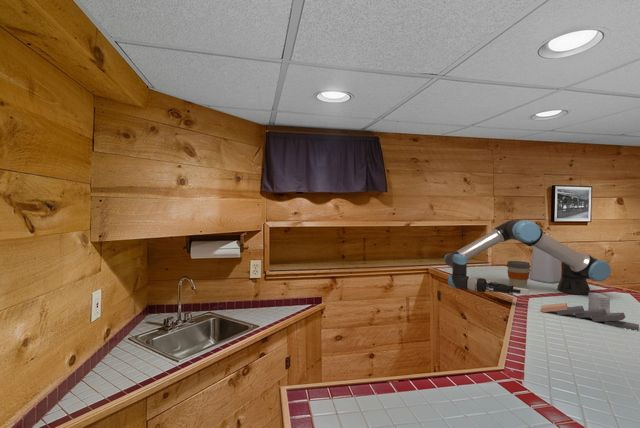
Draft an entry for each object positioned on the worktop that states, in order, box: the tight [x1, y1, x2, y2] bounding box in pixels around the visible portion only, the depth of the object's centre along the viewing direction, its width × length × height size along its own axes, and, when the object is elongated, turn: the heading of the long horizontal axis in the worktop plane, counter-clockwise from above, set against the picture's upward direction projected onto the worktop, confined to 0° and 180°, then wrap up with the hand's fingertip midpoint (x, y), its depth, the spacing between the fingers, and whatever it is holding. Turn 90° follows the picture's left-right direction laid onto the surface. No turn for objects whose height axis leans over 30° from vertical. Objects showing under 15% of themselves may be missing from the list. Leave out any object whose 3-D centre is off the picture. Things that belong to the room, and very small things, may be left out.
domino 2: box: [575, 309, 607, 319], centre depth 138 cm, size 2×5×10 cm
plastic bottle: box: [529, 246, 561, 284], centre depth 209 cm, size 15×15×28 cm
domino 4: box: [604, 320, 640, 332], centre depth 130 cm, size 2×5×10 cm
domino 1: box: [555, 305, 585, 316], centre depth 142 cm, size 2×5×10 cm
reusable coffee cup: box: [506, 260, 531, 288], centre depth 197 cm, size 12×13×15 cm
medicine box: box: [588, 292, 611, 314], centre depth 146 cm, size 8×4×9 cm, turn 168°
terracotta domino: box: [540, 302, 569, 313], centre depth 146 cm, size 2×5×10 cm
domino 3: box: [590, 312, 626, 323], centre depth 133 cm, size 2×5×10 cm
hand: (528, 292), depth 153 cm, fingers closed
